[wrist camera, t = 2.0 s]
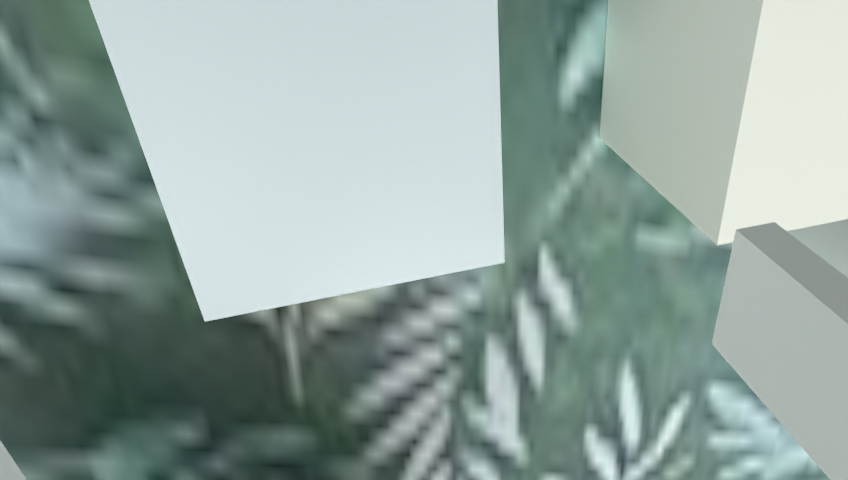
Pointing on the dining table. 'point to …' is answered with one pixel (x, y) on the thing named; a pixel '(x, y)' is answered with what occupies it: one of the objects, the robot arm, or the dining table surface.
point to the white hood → (732, 107)
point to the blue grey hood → (315, 140)
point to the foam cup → (827, 242)
